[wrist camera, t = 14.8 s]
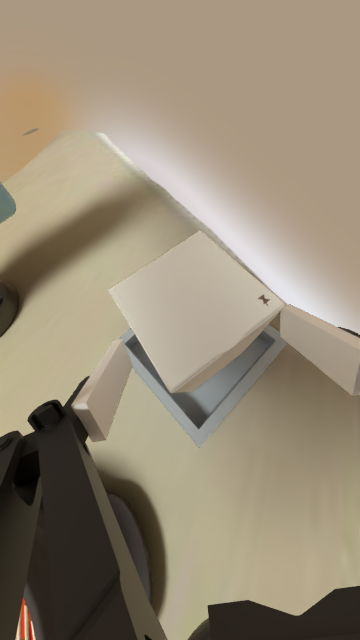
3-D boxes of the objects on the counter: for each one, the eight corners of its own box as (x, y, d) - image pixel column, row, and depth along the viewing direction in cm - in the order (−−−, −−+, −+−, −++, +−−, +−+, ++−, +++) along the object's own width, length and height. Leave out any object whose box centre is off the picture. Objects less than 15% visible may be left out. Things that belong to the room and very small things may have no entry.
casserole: (134, 444, 23) (98, 470, 15) (183, 684, 16) (163, 972, 8) (-52, 517, 22) (-186, 582, 15) (-92, 801, 15) (-403, 1231, 7)
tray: (123, 349, 28) (112, 343, 25) (195, 282, 31) (194, 269, 28) (199, 439, 22) (199, 448, 19) (279, 346, 25) (290, 340, 22)
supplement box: (202, 307, 28) (202, 224, 14) (243, 353, 24) (294, 303, 11) (154, 341, 27) (102, 287, 13) (190, 394, 23) (170, 397, 9)
